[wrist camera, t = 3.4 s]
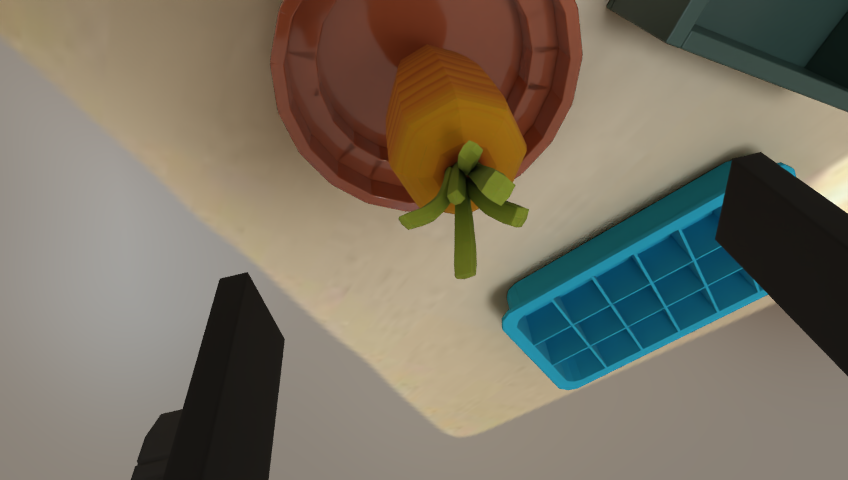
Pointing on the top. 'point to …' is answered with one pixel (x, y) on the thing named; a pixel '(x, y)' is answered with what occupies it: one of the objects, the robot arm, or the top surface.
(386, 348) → the top surface
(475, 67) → the carrot
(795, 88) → the bin
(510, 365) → the top surface
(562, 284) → the ice cube tray
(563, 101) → the bowl
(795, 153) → the top surface
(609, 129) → the top surface
